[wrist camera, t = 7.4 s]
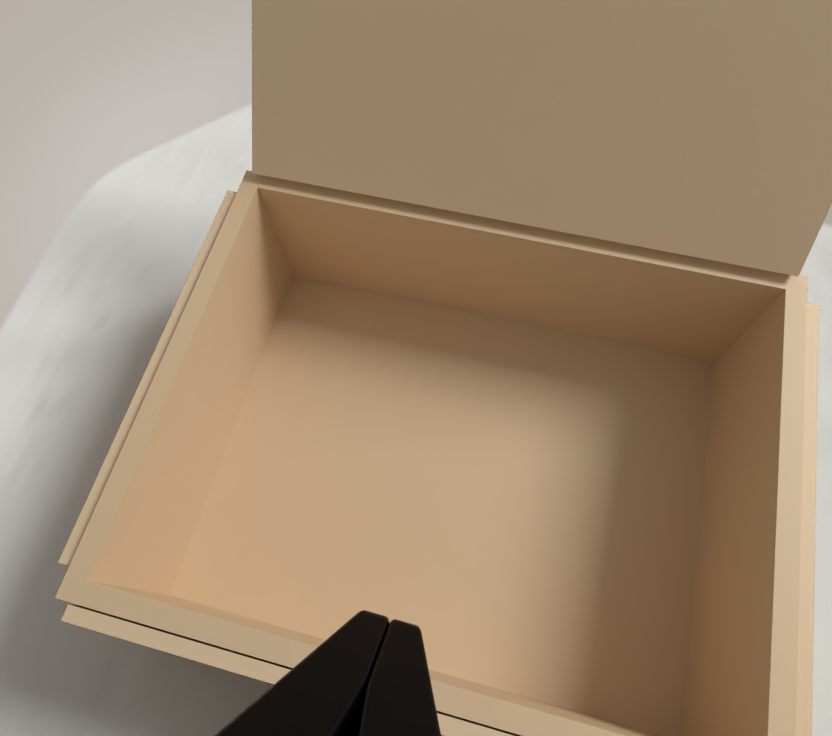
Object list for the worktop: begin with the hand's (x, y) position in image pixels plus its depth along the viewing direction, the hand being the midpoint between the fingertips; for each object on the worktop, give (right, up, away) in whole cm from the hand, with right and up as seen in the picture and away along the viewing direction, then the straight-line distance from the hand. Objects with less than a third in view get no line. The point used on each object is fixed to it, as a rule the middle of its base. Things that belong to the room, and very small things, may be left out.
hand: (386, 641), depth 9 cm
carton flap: (+4, +13, +8) cm, 16 cm away
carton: (+2, 0, +15) cm, 15 cm away
